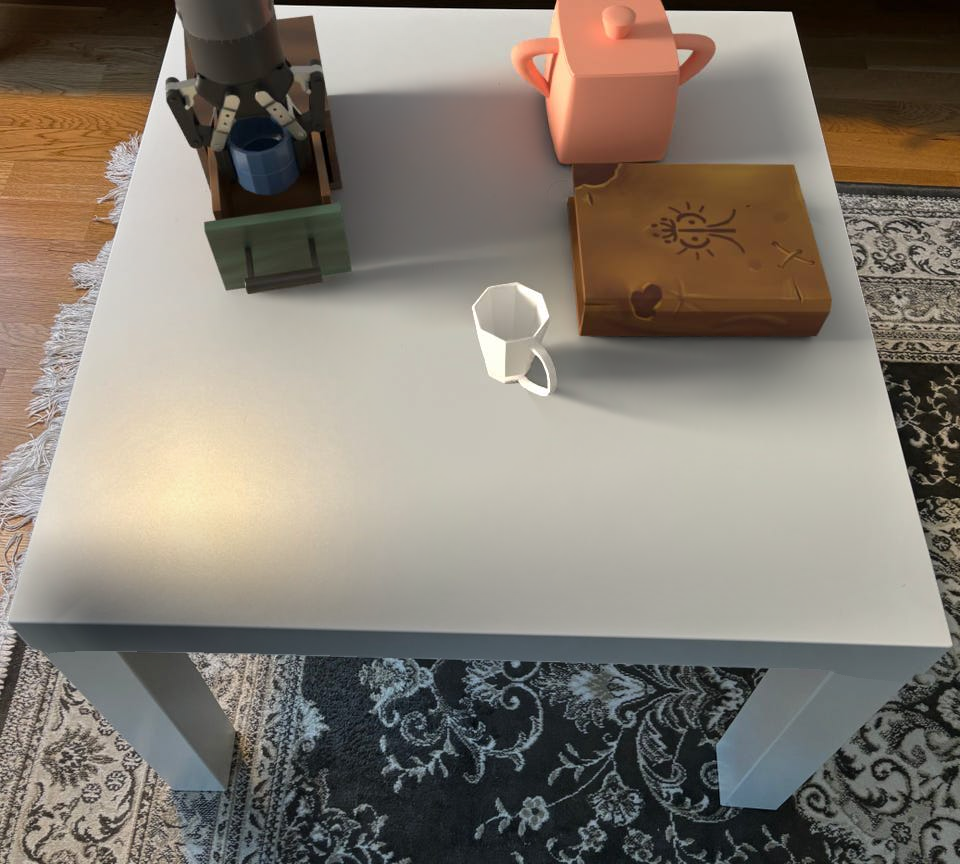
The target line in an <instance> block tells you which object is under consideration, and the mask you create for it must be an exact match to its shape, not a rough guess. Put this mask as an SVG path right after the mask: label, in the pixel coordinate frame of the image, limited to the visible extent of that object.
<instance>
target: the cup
mask: <svg viewBox="0 0 960 864" xmlns="http://www.w3.org/2000/svg"><path fill="white" fill-rule="evenodd" d="M471 309H472V314H473V318H474V322H475V328H476V331H477V337H478V341H479V345H480V348H481V351H482V355H483V358H484V361H485V365H486V368H487V372H488V375H489V377H491V378H493V379H495V380H496V381H499V382H500V383H503V384H505V385H506V384H510V383H515V382H518V383H519V384H520V386H522V387H523V388H524V389H526V390H527V391H529V392H531V393H534V394H536V395H539V396H541V397H542V396H543V397H547V396H549V395H551V394H552V393H553V392H554V391H555V390H556V389H557V385H558V384H557V381H558V379H557V371H556V368H555V366H554V363H553V362H554V361H553V359H552V357H551V356H550V354H549V353H548V351H546V349H545V348H544V347H543V346H542V342H543V340H544V337H545V334H546V332H547V329H548V326H549V324H550V321H551V318H552V316H551V313H550V311H549V309H548V305H547V302H546V299H545V297H544V294H543V293H541V292H539V291H537V290H534V289H533V288H530V287H528V286H527V285H524V284H522V283H520V282H519V281H515V282H509V283H503V284H497V285H492V286H487V288H485V290H484V291H483V292H482V294H481V295H480V296H479V297H478V298H477V300H476V301H475V302H474V303H473V305H472V306H471ZM536 356H537V358H539V360H540V361H541V363H542V365H543V368H544V371H545V373H546V378H547V388H546V387H543V386H540V385H537V384H536V383H534V382H533V381H530V380H529V379H528V377H526V376H527V374H528V373H529V371H530V370H531V368H532V362H533V361H534V359H535V358H536Z"/></svg>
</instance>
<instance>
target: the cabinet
mask: <svg viewBox="0 0 960 864" xmlns="http://www.w3.org/2000/svg"><path fill="white" fill-rule="evenodd" d="M277 23H278V28H279V33H280V38H281V43H282V48H283V53H284V56H285V58H286V59H287V60H288V61H289V62H290V64H291V65H292V66H308V63H309V61H310V60H312V59H317V60H319V61H320V62H321V63H322V59H321V52H320V48H319V42H318V36H317V31H316V24H315V20H314V16H313V15H311V14H310V15H304V16H295V17H294V16H293V17H287V18H277ZM183 43H184V61H185V77H186V78H185V80H188V79H192V78H194V75H195V72H196V69H195V65H194V62H193V59H192V56H191V52H190V49H189V46H188V42H187V39H186V36H185V32H184V31H183ZM287 94H288V95H289V97H290V98H291V101H292V103H293V104H294V105H295V106H296V108H297V109H298V110H299V111H300V112H301V113H302V114H303V113H305V112H307V111H309V94H307V93H306V92H304V91H303V90H302V88H301V85H300V84H299V83H298V82H293V84H292V86H291V88H290V89H289V91H288V93H287ZM192 107H193V109H194V111H195V113H196V115H197V117H198V119H199V121H200V123H201V125H206V126H210V123H211V119H212V116H213V110H214V106H213V105H211V104H210V103H209V102H207V101H206V100H205V99H203V98H202V97H201V96H200V95H199V94H196V95H195V96H194V105H193V106H192ZM330 107H331V106H330V101H329V97H328V92H327V86H326V84H325V129H324V130H323V131H322V132H320V136H321V142H322V147H323V153H324V159H325V164H326V170H327V175H328V181H329V187H330V191H331V190H337V189H343V187H344V186H343V180H342V175H341V169H340V161H339V156H338V151H337V150H338V149H337V144H336V138H335V131H334V126H333V120H332V113H331V109H330ZM234 119H235V118H234ZM195 150H196V152H197V153H196V154H197V156H198V158H199V161H200V165H201V167H202V171H203V174H204V177H205V180H206V182H207V186H208V188H209V192H210V193H211V185H210V171H209V158H208V147H207V146H202V147H201V148H199V149H195Z"/></svg>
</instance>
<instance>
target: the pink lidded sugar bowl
mask: <svg viewBox="0 0 960 864" xmlns="http://www.w3.org/2000/svg"><path fill="white" fill-rule="evenodd" d="M551 21H552V22H551V25H550V30H549V35H548V37H539V38H531V39H527V40H523V41H521V42H518V43H517V44H516V45H514V46H513V47H512V49H511V53H510V59H511V62H512V65H513V67H514V69H515V70H516V72H517V73H518V74H519V75H520V77H521V78H522V79H523V80H524V81H526V83H528V84H529V85H530V86H531V87H533V88H534V89H535V90H537V91H538V92H539V93H540V94H541V95H543V96H544V97H545V98H544V99H545V107H546V116H547V122H548V128H549V133H550V137H551V141H552V145H553V149H554V152H555V156H556V158H557V160H558V162H559V163H560V164H562V165H572V164H573V163H641V162H655V161H661V160H663V158H664V156H665V154H666V153H667V150H668V147H669V144H670V142H671V139H672V134H673V128H674V124H675V118H676V111H677V104H678V94H679V88H680V87H682V86H683V85H684V84H686V83H687V82H689V81H690V80H691V79H692V78H694V77H695V76H696V75H698V74H699V73H700V72H701V71H702V70H703V69H705V68H706V66H707V65H708V64H709V63H710V62H711V61H712V59H713V57H714V55H715V54H716V49H717V47H716V42H715V41H714V40H713V39H712V38H711V37H709V36H707V35H704V34H699V33H687V32H685V33H684V32H683V33H673V30H672V27H671V24H670V21H669V18H668V16H667V12H666V10H665V7H664V5H663V2H662V0H556V3H555V6H554V10H553V15H552V20H551ZM677 50H687V51H692V52H691V54H690V55H689V56H688V58H687V59H686V60H685V61H684V62H683V63H682V64H681V65H680V60H679V54H678V51H677ZM541 55H542V56H543V55H545V63H544V76H543V74H542V73H541V72H540V71H539V70H538V69H539V68H537V66H536V64H535V63H534V60H533V59H534V58H535V57H537V56H541Z"/></svg>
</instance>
